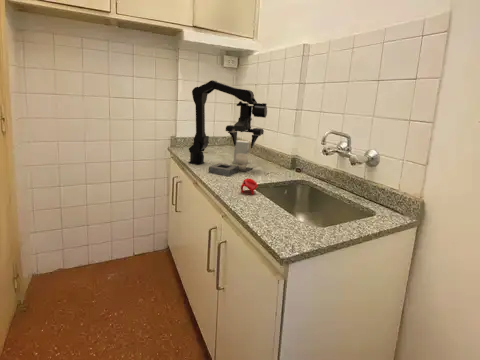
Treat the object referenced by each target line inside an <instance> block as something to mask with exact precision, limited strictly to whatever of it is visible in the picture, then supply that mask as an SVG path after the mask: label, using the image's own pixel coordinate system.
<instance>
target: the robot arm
mask: <svg viewBox="0 0 480 360" xmlns="http://www.w3.org/2000/svg"><path fill="white" fill-rule="evenodd" d="M215 90H216V91H219V92H222V93H225V94H228V95H231V96H233V97H235V98H236V99H238V100H240V101H239V102H238V103H237V104H236V106H237V107H240V110H239V117H238V120H237V122H235V124H234V125H231V124H230V125H226V126H225V132H227V133H228V134H230V136H231V138H232V142H233V146H234V147H235V146H236V141H237V139H238V132H240V133H244V132H245V133H250V134H251V133H252V134H251V143H250V148H251V149H253V147H254V145H255V144H256V141H257V140H258V138H259V137H260V136H261V135H264V128H259V127H255V128H252V126H251V124H252V120H253V118H252V116H253V117H254V118H265V119H266V117H267V116H268V106H267V104H268V103H265V102H263V103H258V102H257V100H256V99H255V95H254V94H255V93H254V91H253V90H250V89H244V88H236V87H234V86H230V85H228V84H225V83H222V82H218V81H216V80H214V79H213V80H211V79H210V80H209V81H208V82H206V83H204V84H201V85H200V86H196V87H194V88H193V89H192V90H191V91H192V92H191V95H192V99H193V103H194V104H195V105H194V106H195V134H194V137H193V144H192V145H191V146H190V147H189V148H188V152H189V153H190V154H189V155H190V156H189V161H188V164H193V165H203V164H205V154H204V152H205V150H206V149H207V148H208V145H209V144H210V142H209V139H210V136H209V135H207V133H206V125H205V124H206V120H205V119H206V113H205V111H206V110H205V106H206V103H207V100H208V95H209V94H211V93H212V92H213V91H215Z"/></svg>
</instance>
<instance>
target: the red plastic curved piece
mask: <svg viewBox="0 0 480 360" xmlns="http://www.w3.org/2000/svg"><path fill="white" fill-rule="evenodd" d="M244 187H246V188H247V189H248V190H250V193H251V195H254V194H255V193H254V191H255V190H256V189H257V188H258V184H257V182H256V181H255V180H254V179H252V178H245V179H243V181H242V183H241V185H240V191H241V193H245V191H244Z"/></svg>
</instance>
